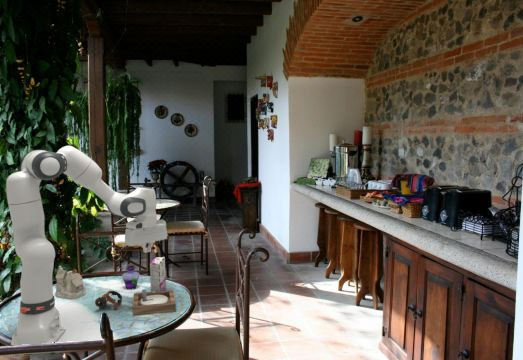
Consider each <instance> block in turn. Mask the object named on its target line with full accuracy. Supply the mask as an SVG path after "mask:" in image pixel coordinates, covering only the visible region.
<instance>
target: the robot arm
mask: <svg viewBox="0 0 523 360" xmlns="http://www.w3.org/2000/svg"><path fill="white" fill-rule="evenodd" d="M62 174H64V175H66V176H67V177H68V178H69V179H71V180H72V181H73V182H75V183H76V184H77V185H79V186H81V187H83V188H85V189H87V190H90V191H91V192H92V193H93V194H95V196H97V197H98V198H99V199H100V200H101V201H102V202H104V204H105V206H106V209H107V210H108V212H109V213H111V214H112V215H115V216H120V217H123V218H127V219H129V218H133V219H132V220H130V221H128V222H126V224H125V227H126V228H127V229H125V233H124V234H125V235H124V243H125V245H126V246H129V247H134V246H139V245H140V247H141V248H142V249H143V253H145V254H146V253H150V252H152V248H153V245H154V242H159V241H163V240H167V238H168V231H167V222H166V220H164V219H157V212H156V209H157V197H156V191H155V189H154V188H153V187H150V186H144V185H143V186H142V185H141V186H140V185H139V186H137V188H136V189H134V190H133V191H131V192H129V193H128V194H126V193H125V194H124V193H123V192H119V191H115V190H113V189H112V187H110V186H109V185H108V184H107V183H105V182H104V180H103V179H102V176H103V171H102V168H100V166H99V165H98V163H96V162H95V160H94V159H92V158H91V157H90V156H88V155H87V154H86V153H84V152H82V151H81V150H80V149H77V148H76V147H74V146H72V145H65V146H62V147H61V148H59V149H58V150H57V152H55V151H54V152H53V151H47V150H44V149H33V150H31V151H28V152H26V154H24V156H22V160H21V161H20V165H19V167H18V170H17V171H16V172H13V173H11V174H10V175H9V176H8V177H7V178H6V186H5V187H6V188H5V189H6V198H7V203H8V204H7V205H8V208H9V209H8V210H9V214H10V218H11V224H12V235H13V242H14V249H15V250H14V251H15V253H16V255H17V256H18V257H19V259H20V260H21V276H20V281H19V283H20V299H21V300H20V303H19V313H18V314H17V318H18V319H17V326H16V327H15V331H14V333H12V338H11V342H10V346H11V345H22V344H42V343H52V342H55V343H57V341H58V340H59V339H60V338H61V337H62V336H63V334H65V332H66V327H64V326H62V325H61V316H60V315H61V314H60V310H59V309H58V308H57V307H56V302H55V301H56V299H55V296H54V289H53V288H54V287H53V271H54V262H55V258H56V251H55V248H54V245H53V243H51V242H50V241H49V240H48V239H47V238H46V234H45V212H44V208H43V202H42V196H41V192H40V185H41V182H42V180H43V181H51V180H53V179H56V178H58V177H59V176H60V175H62ZM147 244H148V246H147ZM146 246H147V247H146Z"/></svg>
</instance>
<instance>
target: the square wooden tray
mask: <svg viewBox="0 0 523 360" xmlns="http://www.w3.org/2000/svg"><path fill="white" fill-rule="evenodd" d="M150 295H164V296H166V297H167V298H168V303H161V304H150V305H141V299H142V292H134V293H133V302H132V303H133V305H132V316H143V315H144V316H145V315H154V314H164V313H165V314H166V313H175V312H176V311H177V308H176V306H177V305H176V297H175V291H174V289H169V290H165V291H153V292H151V291H146V296H150Z"/></svg>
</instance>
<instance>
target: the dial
mask: <svg viewBox="0 0 523 360" xmlns="http://www.w3.org/2000/svg"><path fill="white" fill-rule="evenodd" d="M146 292H147V289H145V288H144V289H142V290H141V293H142V299H141V305H150V304H161V303H168V298H167V297H166V296H164V295H150V296H146Z"/></svg>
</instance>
